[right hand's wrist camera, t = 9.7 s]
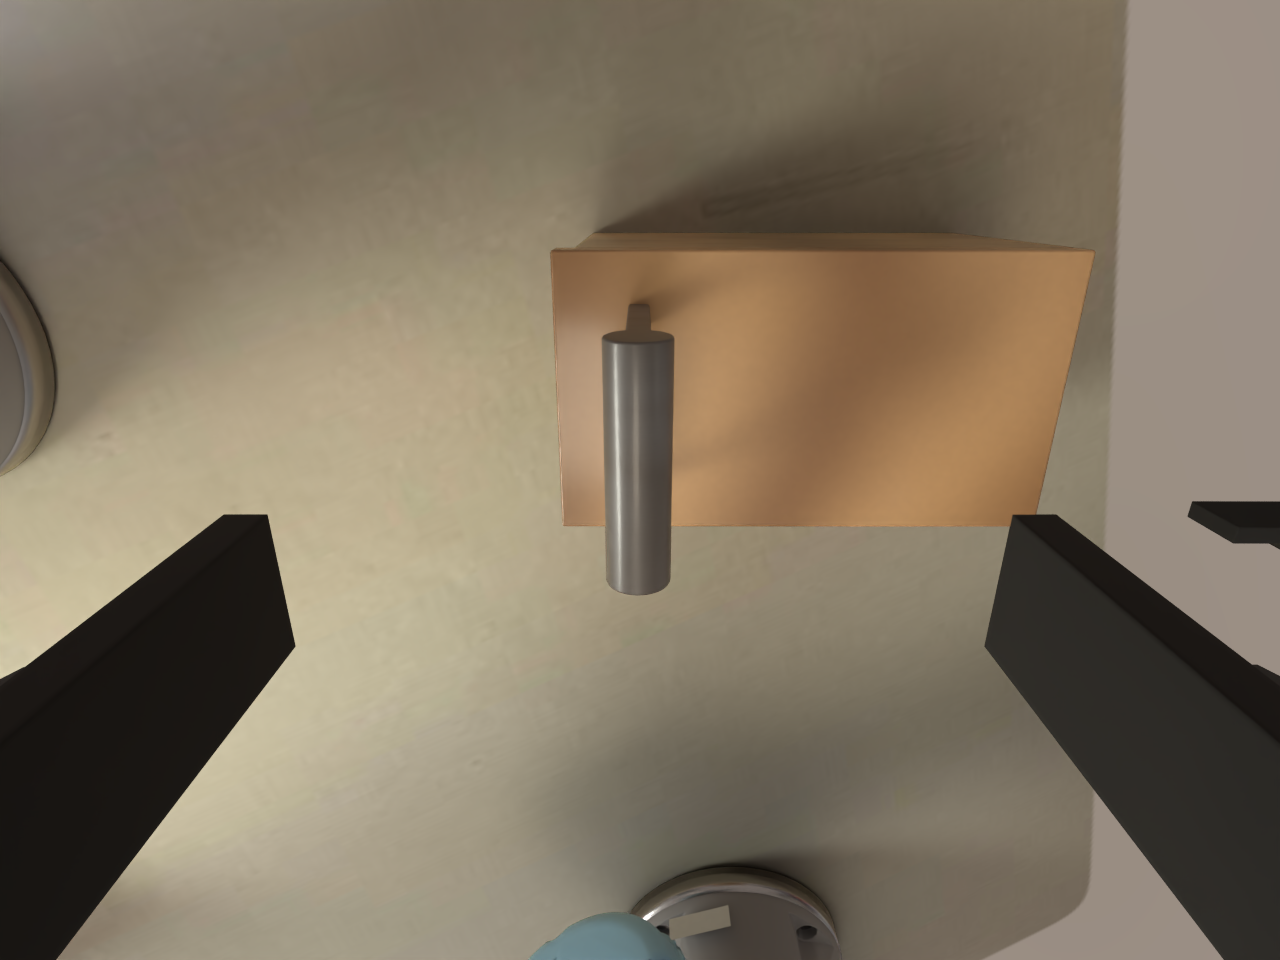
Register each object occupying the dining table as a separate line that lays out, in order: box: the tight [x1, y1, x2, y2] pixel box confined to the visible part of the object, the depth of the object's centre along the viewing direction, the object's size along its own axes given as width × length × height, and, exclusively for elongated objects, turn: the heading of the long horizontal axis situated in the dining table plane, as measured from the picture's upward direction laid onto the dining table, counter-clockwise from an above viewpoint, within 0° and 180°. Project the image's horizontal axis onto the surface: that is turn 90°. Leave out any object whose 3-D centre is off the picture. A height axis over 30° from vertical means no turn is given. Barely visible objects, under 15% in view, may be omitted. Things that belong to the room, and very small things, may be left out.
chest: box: [575, 233, 1073, 248], centre depth 30 cm, size 17×10×10 cm, turn 90°
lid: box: [550, 248, 1095, 595], centre depth 21 cm, size 17×10×8 cm, turn 90°
